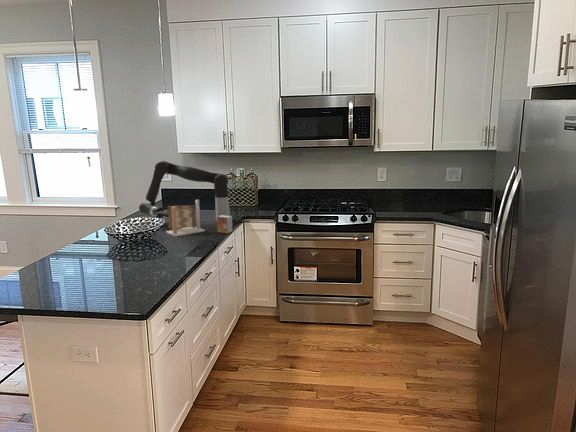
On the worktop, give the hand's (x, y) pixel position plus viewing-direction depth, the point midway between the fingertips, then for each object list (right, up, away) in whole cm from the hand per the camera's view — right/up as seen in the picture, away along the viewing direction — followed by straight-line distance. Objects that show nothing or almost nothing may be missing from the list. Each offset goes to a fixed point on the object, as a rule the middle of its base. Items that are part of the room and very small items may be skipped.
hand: (169, 215), depth 298 cm
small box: (+37, -11, -5) cm, 39 cm away
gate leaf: (+9, -8, -2) cm, 12 cm away
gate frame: (+12, -10, -5) cm, 17 cm away
